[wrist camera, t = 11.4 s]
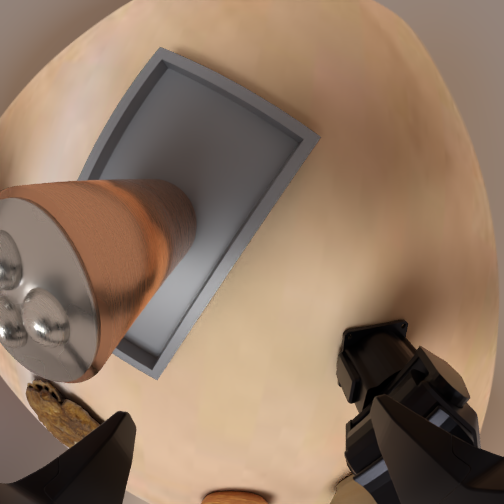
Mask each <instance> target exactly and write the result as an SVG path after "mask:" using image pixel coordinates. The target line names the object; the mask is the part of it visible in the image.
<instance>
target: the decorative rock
mask: <svg viewBox="0 0 504 504" xmlns="http://www.w3.org/2000/svg"><path fill="white" fill-rule="evenodd" d="M46 387H47V388H48V389H49V391H47V390H46ZM54 394H55V395H56V397H57V399H55V398H54V397H53V395H54ZM26 396H27V400H28V402H29V404H30V406H31V407H32V409H33V410H34V411H35V413H36V414H37V415H38V419H39V421H41V422H42V423H43V425H44V426H46V428H47V429H48V431H49V432H51V433H52V434H53V436H54V437H56V438H57V439H58V440H59V441H60V442H61V443H63V444H65V445H66V446H67V447H69V448H71V447H72V446H73V445H75V444H76V443H77V442H79V441H80V440H81V439H83V438H84V437H85V436H87V435H88V434H89V433H91V432H92V431H93V430H95V429H96V428H97V427H98V426H100V424H99V423H98V422H97V421H95V420H94V419H93V418H92V417H91V416H89V413H88V411H87V412H86V411H85V410H84V409H83V408H82V407H81V406H79V405H77V404H76V403H74V402H72V401H70V400H68V399H64V398H63V397H62V395H61V394H60V392H59V391H58V390H57V389H55V388H54V387H53V386H52V385H51V383H49V381H47V382H42V381H41V379H40V381H39V380H38V379H37V380H34V381H33V383H32V384H31V383H28V387H27V391H26Z"/></svg>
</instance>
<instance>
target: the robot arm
mask: <svg viewBox="0 0 504 504" xmlns="http://www.w3.org/2000/svg"><path fill="white" fill-rule="evenodd" d="M402 325H403V326H402ZM407 327H408V323H407V321H406V320H404V319H402V320H397V321H392V322H387V323H382V324H377V325H372V326H366V327H361V328H355V329H349V330H346V331H345V332H344V334H343V341H342V350H341V352H340V353H339V355H338V363H337V372H336V375H337V378H338V385H339V386H340V387H342V389H343V392H344V394H345V396H346V399H347V401H348V402H349V403H350V404H351V403H355V405H356V407H357V410H358V412H359V414H358V415H357V416H356V417H355V418H354V419H353V420H350V421H349V422H348V423H347V424H346V451H345V458H346V462H347V466H348V467H349V469H350V471H351V472H352V473H353V474H354V475H355V476H353V480H354V481H356V482H357V483H358V484H360V485H361V486H363V487H364V488H365V489H366V490H367V491H368V492H369V493H370V494H371V496H372V497H373V498H374V500H375V501H376V503H377V504H504V457H502V456H499V455H496V454H493V453H490V452H488V451H485V450H482V449H481V448H480V447H481V446H480V434H479V425H478V417H477V414H476V412H475V411H474V410H473V409H472V408H471V407H470V406H469V405H468V403H467V401H468V400H469V399H470V395H469V393H468V390H467V388H466V386H465V383H464V381H463V379H462V377H461V376H460V375H459V374H458V373H457V372H456V371H455V370H454V369H453V368H452V367H451V366H450V365H449V364H448V363H447V362H446V361H444V360H443V359H441V358H439V357H438V356H436V355H434V354H433V353H431V352H430V351H428V350H426V349H425V348H423V347H422V346H419V348H418V349H417V350H416V349H415V348H414V347H413V345H412V344H411V343H410V342H409V341H408V340H407V339H406V338H405V337H406V332H407ZM349 334H351V335H350V336H349V337H347V336H348V335H349ZM135 436H136V425H135V423H134V422H133V420H132V418H131V416H130V414H129V413H128V412H123V411H118V412H116V413H115V414H114V415H112V416H111V417H110V418H109V419H107V420H106V421H105V422H104V423H102V424H101V425H100V426H98V427H97V428H96V429H95V430H93V431H92V432H91V433H89V434H88V435H87V436H85V437H84V438H83V439H81V440H80V441H79V442H77V443H76V444H75V445H73V446H72V447H71V448H69V449H68V450H67V451H65V452H64V453H63V454H61V455H60V456H59V457H57V458H56V459H55V460H53V461H52V462H50V463H49V464H47V465H46V466H44V467H43V468H41V469H39V470H37V471H36V472H34V473H32V474H30V475H28V476H26V477H24V478H22V479H20V480H18V481H16V482H13V483H9V484H5V483H0V504H122V502H123V498H124V494H125V489H126V485H127V481H128V477H129V472H130V468H131V464H132V459H133V451H134V443H135Z"/></svg>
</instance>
